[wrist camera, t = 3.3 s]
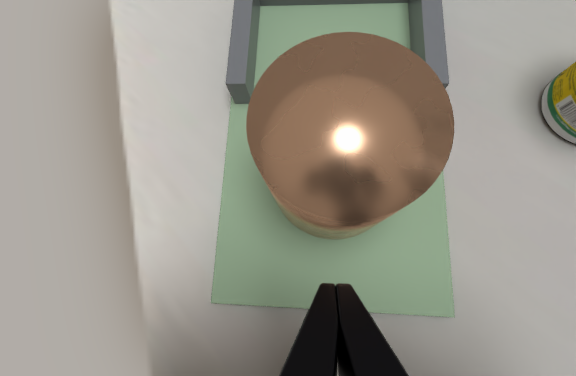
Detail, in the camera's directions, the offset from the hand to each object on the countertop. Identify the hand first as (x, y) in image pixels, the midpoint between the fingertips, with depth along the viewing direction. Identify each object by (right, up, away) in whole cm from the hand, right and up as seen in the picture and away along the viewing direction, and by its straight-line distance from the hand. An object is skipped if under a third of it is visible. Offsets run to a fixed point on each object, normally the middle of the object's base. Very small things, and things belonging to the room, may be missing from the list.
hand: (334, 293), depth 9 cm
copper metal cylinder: (+1, +4, +10) cm, 11 cm away
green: (+2, +7, +12) cm, 14 cm away
